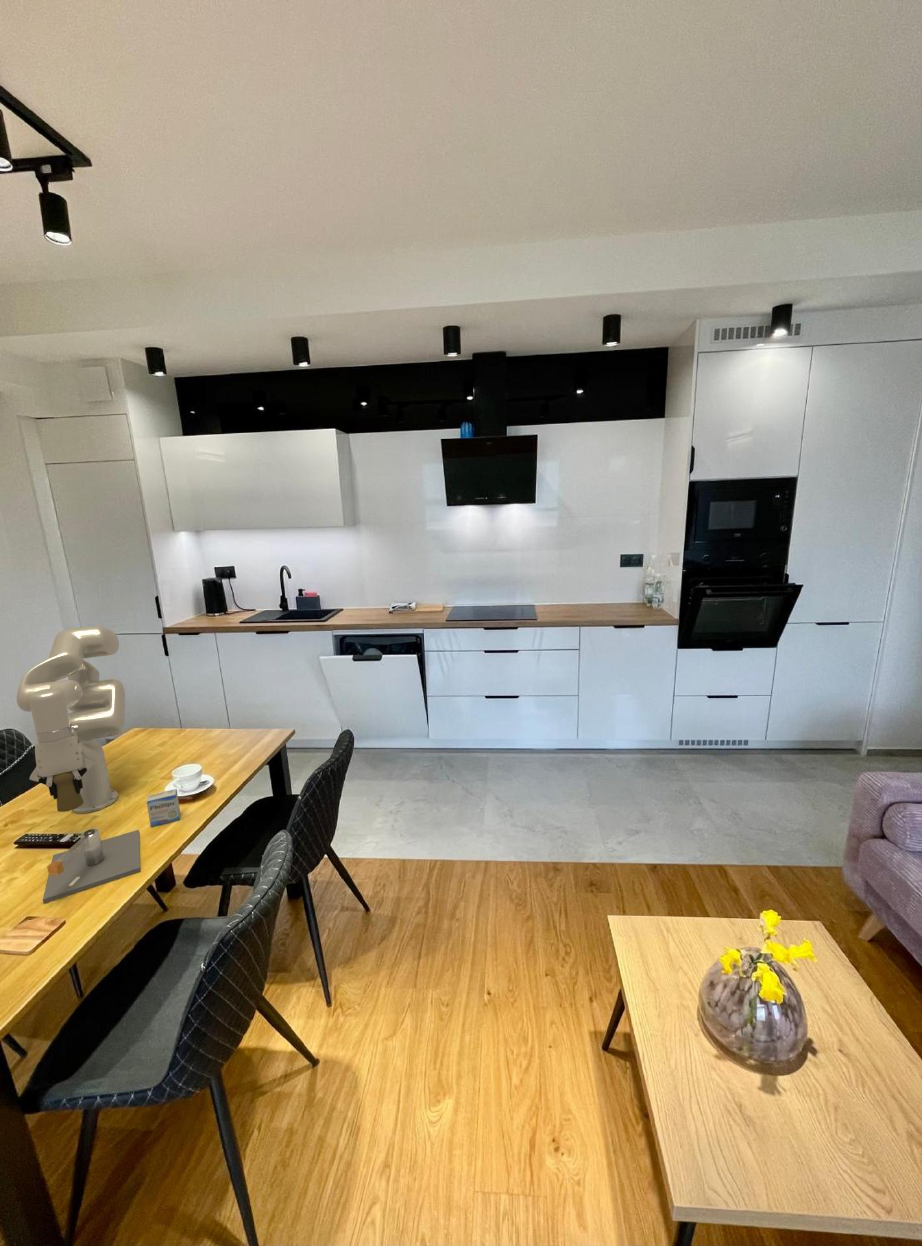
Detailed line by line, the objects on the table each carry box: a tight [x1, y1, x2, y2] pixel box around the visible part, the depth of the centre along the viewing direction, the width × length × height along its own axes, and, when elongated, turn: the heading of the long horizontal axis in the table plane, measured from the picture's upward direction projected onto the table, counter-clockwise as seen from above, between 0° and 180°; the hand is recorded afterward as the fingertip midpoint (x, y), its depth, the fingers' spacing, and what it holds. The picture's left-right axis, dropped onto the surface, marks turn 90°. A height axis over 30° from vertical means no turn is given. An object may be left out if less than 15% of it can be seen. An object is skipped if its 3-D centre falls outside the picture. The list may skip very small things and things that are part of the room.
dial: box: [47, 828, 104, 876], centre depth 131 cm, size 15×4×8 cm, turn 1°
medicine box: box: [146, 788, 181, 828], centre depth 156 cm, size 8×4×9 cm, turn 117°
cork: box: [52, 771, 84, 813], centre depth 143 cm, size 6×6×11 cm
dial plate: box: [42, 829, 141, 905], centre depth 137 cm, size 20×20×2 cm
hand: (67, 793), depth 144 cm, fingers closed on cork, 4 cm apart
